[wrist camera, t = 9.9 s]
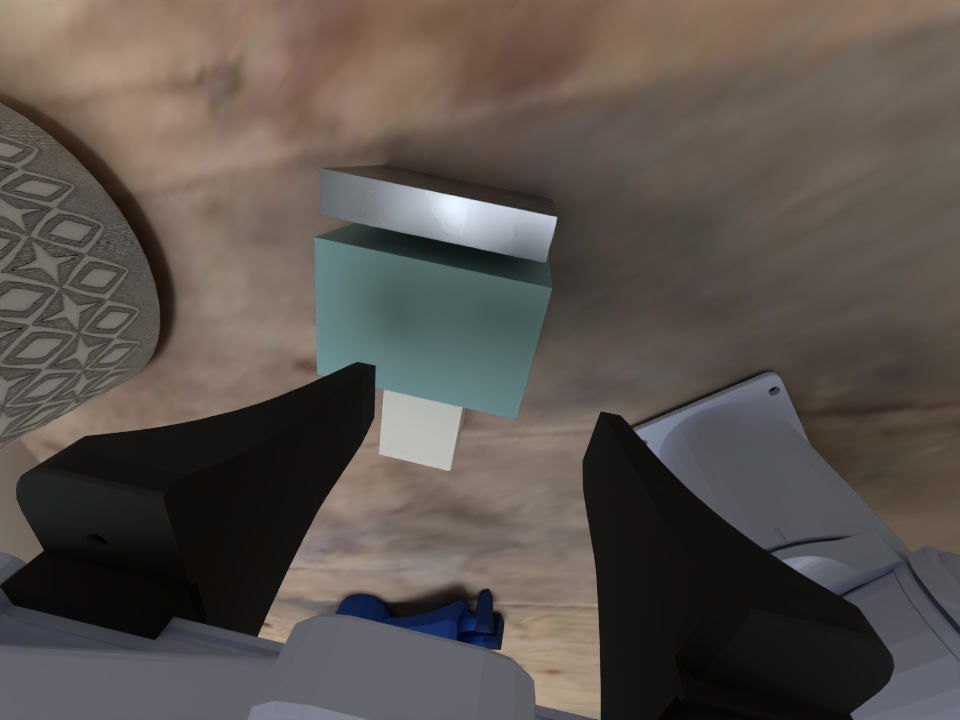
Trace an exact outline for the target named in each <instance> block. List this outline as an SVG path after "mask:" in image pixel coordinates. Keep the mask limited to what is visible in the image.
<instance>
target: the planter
mask: <svg viewBox="0 0 960 720" xmlns="http://www.w3.org/2000/svg"><path fill="white" fill-rule="evenodd" d="M159 331H160V305H159V300H158V295H157V289H156V284H155V281H154V278H153V275H152V272H151V269H150V266H149V264H148V261H147V258H146V256H145V254H144V252H143V250H142V248H141V246H140V244H139V242H138V240H137V237H136V235H135V234H134V232H133V231H132V229H131V227H130V226H129V224H128V222H127V221H126V219H125V218H124V216H123V214H122V213H121V211H120V210H119V208H118V207H117V206H116V204H115V203H114V202H113V200H112V199H111V198H110V196H109V195H108V194H107V192H106V191H105V190H104V188H103V187H102V186H101V184H100V183H99V182H98V181H97V180H96V179H95V178H94V177H93V176H92V175H91V174H90V173H89V171H88V170H87V169H86V168H85V167H84V166H83V165H82V164H81V163H80V162H79V161H78V159H76V158H75V157H74V156H73V155H72V154H71V153H70V152H69V151H68V150H66V149H65V148H64V147H63V146H62V145H61V144H60V143H59V142H57V141H56V140H55V139H54V138H53V137H52V136H51V135H49V134H48V133H46V132H45V131H44V130H42V129H41V128H40V127H38V126H37V125H35V124H34V123H33V122H31V121H30V120H29V119H27V118H26V117H24V116H23V115H21V114H19V113H17V112H16V111H14V110H12V109H11V108H9V107H7V106H5V105H4V104H2V103H0V449H1V448H3V447H5V446H7V445H9V444H11V443H12V442H14V441H16V440H18V439H20V438H22V437H24V436H25V435H27V434H29V433H31V432H33V431H35V430H37V429H38V428H40V427H42V426H44V425H46V424H48V423H49V422H51V421H53V420H55V419H57V418H59V417H61V416H62V415H64V414H66V413H68V412H70V411H72V410H74V409H75V408H77V407H79V406H81V405H83V404H85V403H87V402H88V401H90V400H92V399H94V398H96V397H98V396H100V395H101V394H103V393H105V392H107V391H109V390H111V389H112V388H114V387H116V386H118V385H120V384H122V383H124V382H125V381H127V380H129V379H131V378H132V377H134V376H135V375H136V374H137V373H139V372H140V371H141V370H142V369H143V368H144V367H145V366H146V364H147V363H148V362H149V360H150V359H151V358H152V355H153V353H154V350H155V348H156V346H157V343H158V337H159Z"/></svg>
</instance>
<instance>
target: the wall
mask: <svg viewBox="0 0 960 720" xmlns="http://www.w3.org/2000/svg"><path fill="white" fill-rule="evenodd" d="M320 215H322V216H326V217H331V218H336V219H341V220H345V221H350V222H355V223H360V224H364V225H369V226H374V227H378V228H383V229H388V230H393V231H397V232H402V233H407V234H411V235H416V236H421V237H426V238H430V239H435V240H440V241H444V242H449V243H454V244H459V245H463V246H468V247H473V248H477V249H482V250H487V251H492V252H496V253H501V254H506V255H511V256H515V257H520V258H525V259H529V260H534V261H539V262H544V263H546V261H547V257H548V253H549V249H550V245H551V241H552V238H553V234H554V230H555V226H556V222H557V218H558V217H557V214H556V210H555V207H554V204H553V201H552V200H549V199H544V198H539V197H535V196H530V195H525V194H520V193H515V192H510V191H505V190H501V189H496V188H491V187H486V186H481V185H476V184H471V183H467V182H462V181H457V180H452V179H447V178H442V177H437V176H433V175H428V174H423V173H418V172H413V171H408V170H403V169H399V168H394V167H389V166H384V165H380V166H356V167H332V168H320Z"/></svg>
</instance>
